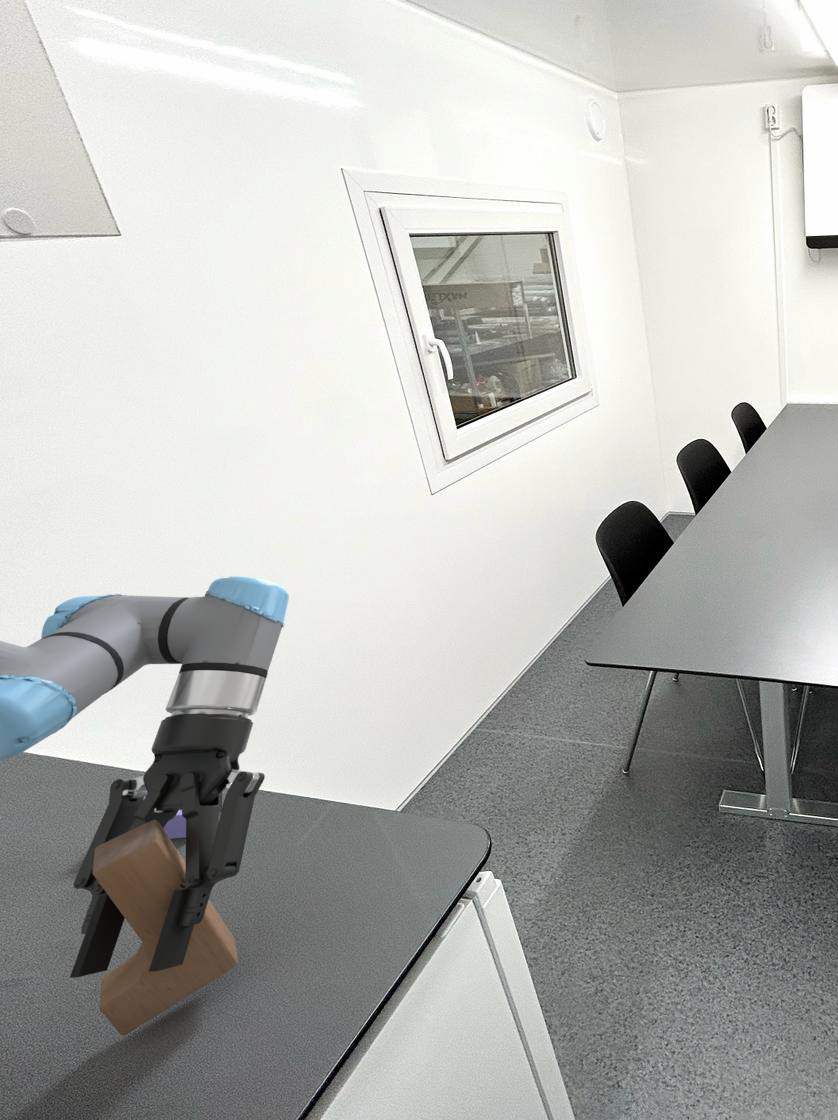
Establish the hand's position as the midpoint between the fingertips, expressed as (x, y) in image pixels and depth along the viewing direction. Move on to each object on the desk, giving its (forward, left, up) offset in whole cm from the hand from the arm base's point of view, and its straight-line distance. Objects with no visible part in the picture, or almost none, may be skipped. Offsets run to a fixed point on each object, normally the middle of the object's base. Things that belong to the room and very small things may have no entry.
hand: (127, 970), depth 58 cm
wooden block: (-1, +4, -8) cm, 9 cm away
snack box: (-24, +29, -10) cm, 39 cm away
